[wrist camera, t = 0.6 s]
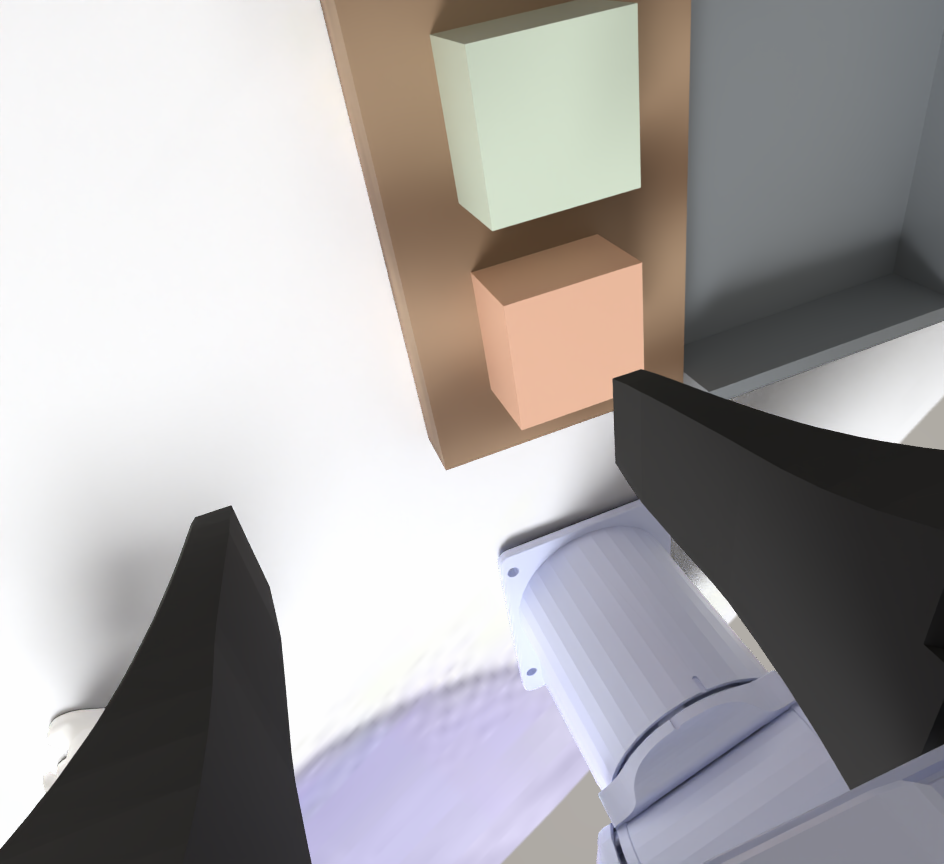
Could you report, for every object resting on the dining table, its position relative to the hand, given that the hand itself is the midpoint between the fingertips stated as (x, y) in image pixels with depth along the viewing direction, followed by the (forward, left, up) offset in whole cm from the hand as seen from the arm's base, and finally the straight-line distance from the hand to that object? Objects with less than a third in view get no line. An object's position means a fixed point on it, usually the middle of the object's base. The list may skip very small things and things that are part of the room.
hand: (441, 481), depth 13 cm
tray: (+1, -16, -10) cm, 19 cm away
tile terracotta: (-2, -5, -8) cm, 10 cm away
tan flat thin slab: (+1, -6, -10) cm, 12 cm away
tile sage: (+4, -5, -8) cm, 11 cm away
